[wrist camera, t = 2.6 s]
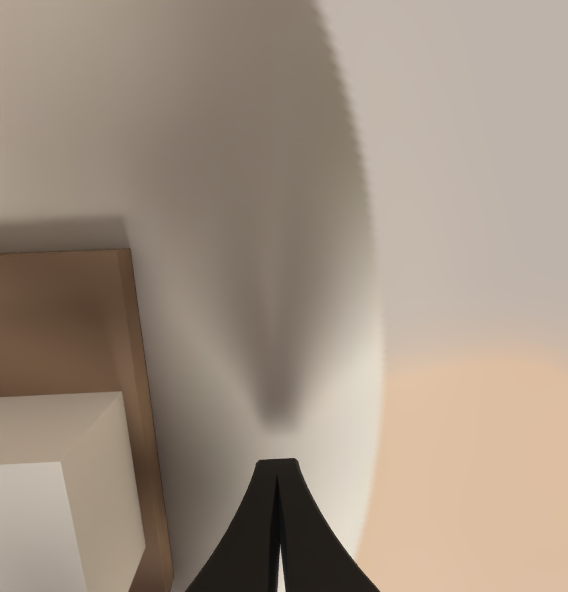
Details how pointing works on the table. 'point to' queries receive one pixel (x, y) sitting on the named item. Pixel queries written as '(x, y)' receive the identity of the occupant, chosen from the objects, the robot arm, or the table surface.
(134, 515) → the carton
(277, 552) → the robot arm
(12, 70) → the table surface
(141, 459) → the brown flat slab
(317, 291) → the table surface
